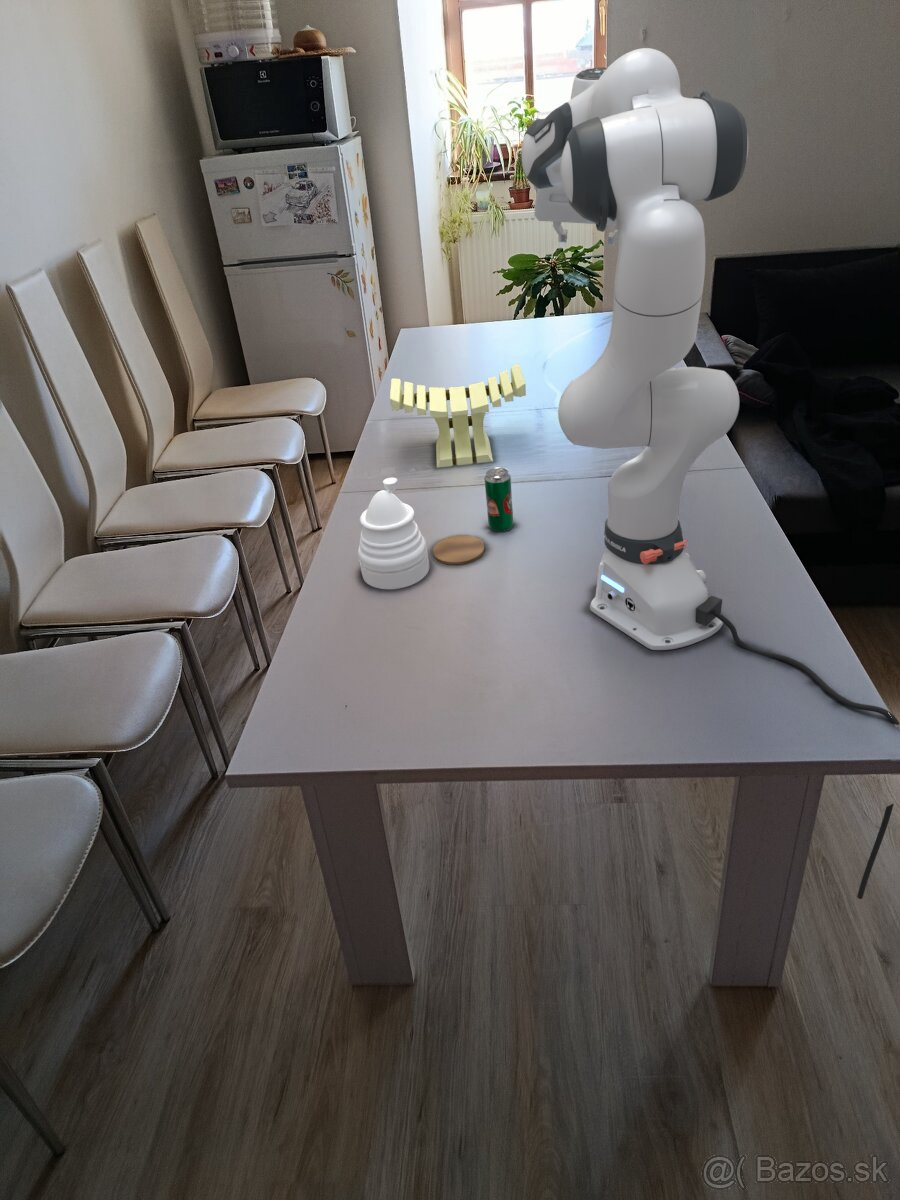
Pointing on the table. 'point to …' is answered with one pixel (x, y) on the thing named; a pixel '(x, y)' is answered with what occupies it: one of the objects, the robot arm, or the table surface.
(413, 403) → the slatted curved stool
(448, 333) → the table surface
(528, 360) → the table surface
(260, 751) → the table surface
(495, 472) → the soda can
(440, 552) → the cork coaster
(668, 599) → the robot arm
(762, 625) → the table surface
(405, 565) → the honey pot
